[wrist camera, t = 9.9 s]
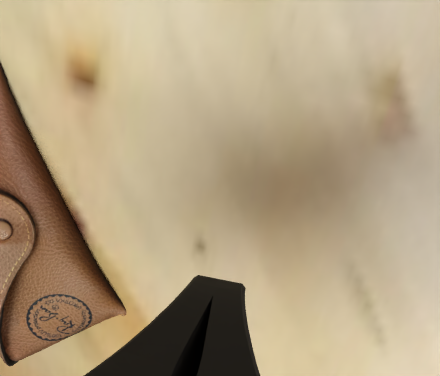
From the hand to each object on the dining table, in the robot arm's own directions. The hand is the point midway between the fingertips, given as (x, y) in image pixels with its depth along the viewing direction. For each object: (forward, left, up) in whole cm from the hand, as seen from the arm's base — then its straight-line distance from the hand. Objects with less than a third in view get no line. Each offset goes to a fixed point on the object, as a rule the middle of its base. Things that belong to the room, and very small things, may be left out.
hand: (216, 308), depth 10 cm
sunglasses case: (+14, +4, -10) cm, 18 cm away
